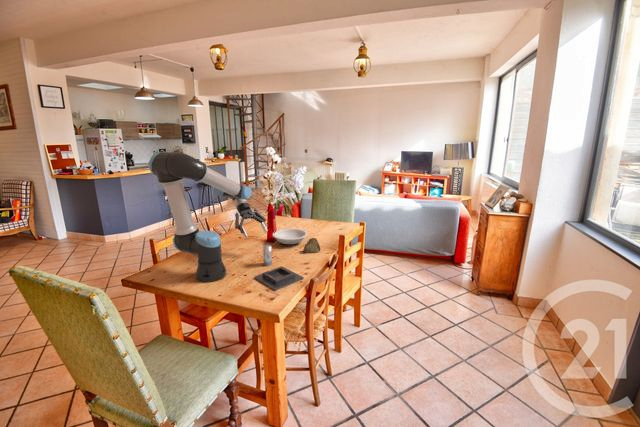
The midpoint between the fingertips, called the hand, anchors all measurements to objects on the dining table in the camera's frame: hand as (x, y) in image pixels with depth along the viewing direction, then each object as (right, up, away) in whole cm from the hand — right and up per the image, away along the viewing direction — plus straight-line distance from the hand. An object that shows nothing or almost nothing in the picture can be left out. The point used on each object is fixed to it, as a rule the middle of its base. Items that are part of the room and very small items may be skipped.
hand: (256, 234), depth 177 cm
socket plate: (+16, -21, -21) cm, 34 cm away
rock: (+32, -12, +16) cm, 38 cm away
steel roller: (+7, -17, -4) cm, 19 cm away
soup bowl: (+16, -8, +32) cm, 37 cm away
